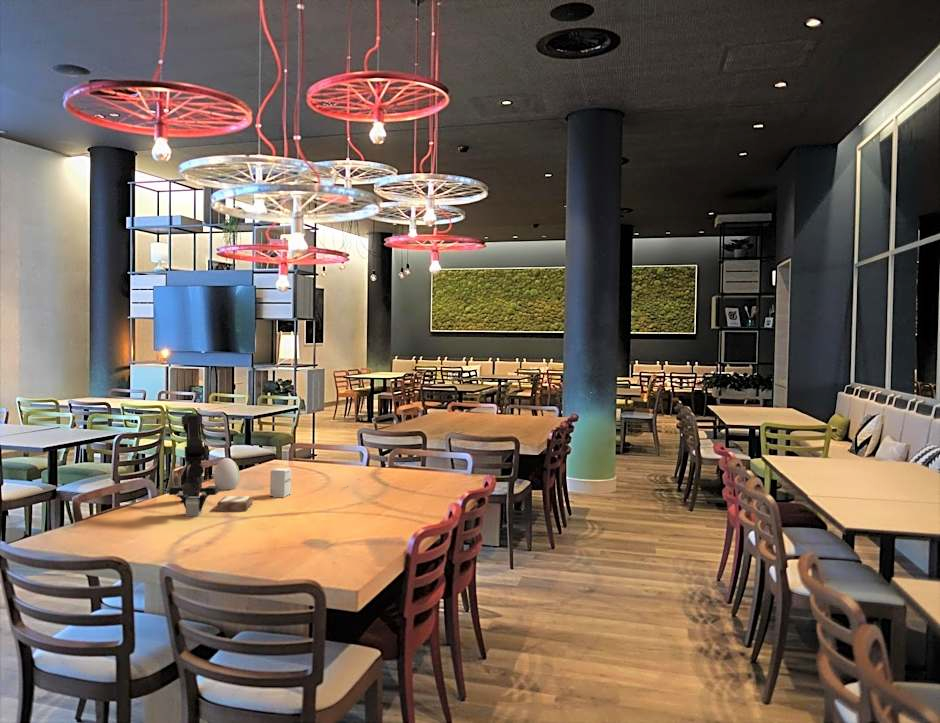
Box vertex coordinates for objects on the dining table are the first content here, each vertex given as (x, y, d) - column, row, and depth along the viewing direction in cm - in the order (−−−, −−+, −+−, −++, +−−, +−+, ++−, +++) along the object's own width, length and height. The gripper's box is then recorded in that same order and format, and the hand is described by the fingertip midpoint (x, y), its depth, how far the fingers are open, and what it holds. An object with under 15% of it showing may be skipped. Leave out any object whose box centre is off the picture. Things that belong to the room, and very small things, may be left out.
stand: (217, 511, 299) (217, 501, 299) (224, 504, 311) (224, 495, 311) (246, 511, 300) (246, 501, 300) (252, 504, 312) (252, 495, 312)
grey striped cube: (185, 516, 289) (185, 499, 289) (189, 513, 294) (189, 496, 294) (198, 516, 290) (198, 499, 290) (201, 513, 295) (202, 496, 295)
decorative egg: (244, 487, 348) (245, 457, 347) (225, 492, 337) (226, 461, 336) (227, 484, 353) (227, 455, 353) (207, 489, 342) (208, 458, 342)
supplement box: (284, 497, 327) (284, 470, 327) (269, 496, 329) (270, 470, 328) (291, 494, 334) (291, 468, 334) (277, 493, 336) (277, 467, 336)
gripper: (164, 477, 283) (163, 515, 283) (211, 477, 285) (211, 515, 285) (173, 472, 294) (173, 509, 294) (219, 472, 296) (218, 509, 296)
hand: (193, 510), depth 292 cm, fingers closed on grey striped cube, 5 cm apart
